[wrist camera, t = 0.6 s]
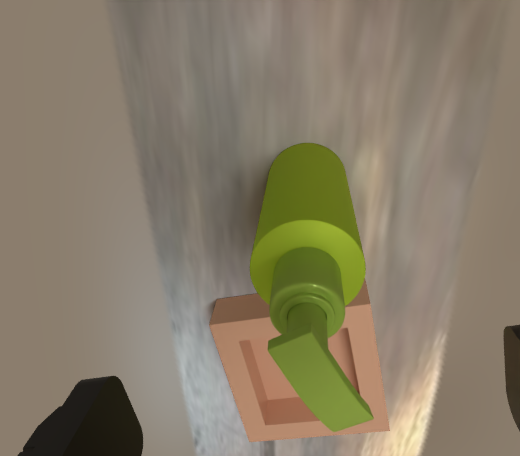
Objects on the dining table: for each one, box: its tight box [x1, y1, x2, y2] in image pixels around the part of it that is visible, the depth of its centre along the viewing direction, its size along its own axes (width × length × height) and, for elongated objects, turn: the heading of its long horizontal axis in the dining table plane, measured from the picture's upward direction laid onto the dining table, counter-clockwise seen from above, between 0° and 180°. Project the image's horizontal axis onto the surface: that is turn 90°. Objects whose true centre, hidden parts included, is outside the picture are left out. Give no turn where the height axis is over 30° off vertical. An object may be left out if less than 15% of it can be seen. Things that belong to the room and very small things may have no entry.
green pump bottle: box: [250, 143, 374, 432], centre depth 26 cm, size 6×7×20 cm
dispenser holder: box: [209, 278, 390, 442], centre depth 41 cm, size 14×13×4 cm
